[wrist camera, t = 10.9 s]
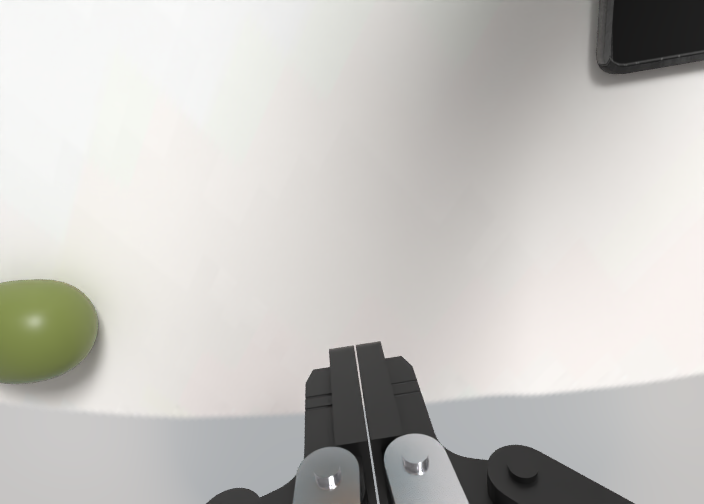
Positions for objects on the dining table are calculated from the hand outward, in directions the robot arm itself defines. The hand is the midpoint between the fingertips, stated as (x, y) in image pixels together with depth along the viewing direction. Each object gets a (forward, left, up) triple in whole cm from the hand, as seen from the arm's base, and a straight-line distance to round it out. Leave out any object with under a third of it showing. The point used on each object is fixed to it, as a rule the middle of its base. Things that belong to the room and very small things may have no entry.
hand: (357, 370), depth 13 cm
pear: (-4, -19, -14) cm, 24 cm away
